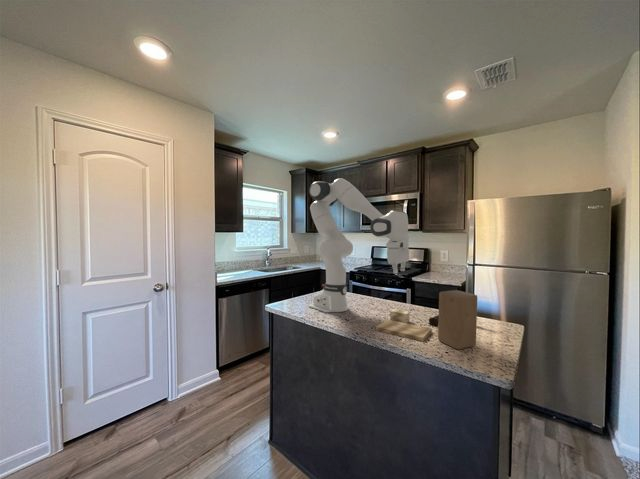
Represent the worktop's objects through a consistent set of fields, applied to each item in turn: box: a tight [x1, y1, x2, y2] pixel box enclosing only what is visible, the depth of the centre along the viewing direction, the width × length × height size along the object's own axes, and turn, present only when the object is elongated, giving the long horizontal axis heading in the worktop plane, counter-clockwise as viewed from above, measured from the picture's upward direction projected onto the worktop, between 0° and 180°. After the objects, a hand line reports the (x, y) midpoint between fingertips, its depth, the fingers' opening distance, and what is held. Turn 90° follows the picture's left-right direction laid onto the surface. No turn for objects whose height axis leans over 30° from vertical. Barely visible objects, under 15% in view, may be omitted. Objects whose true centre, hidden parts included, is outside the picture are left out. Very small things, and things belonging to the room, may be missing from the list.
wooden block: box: [437, 289, 478, 350], centre depth 106 cm, size 10×10×20 cm
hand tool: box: [428, 314, 439, 327], centre depth 133 cm, size 19×4×5 cm, turn 131°
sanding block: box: [389, 308, 411, 324], centre depth 133 cm, size 8×4×5 cm, turn 55°
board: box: [375, 319, 432, 342], centre depth 119 cm, size 20×13×2 cm, turn 54°
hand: (399, 272), depth 132 cm, fingers open, 8 cm apart
